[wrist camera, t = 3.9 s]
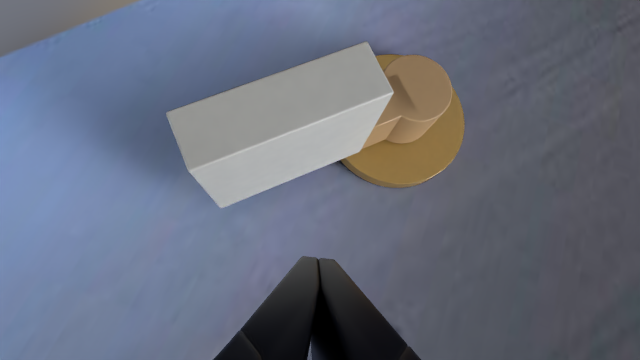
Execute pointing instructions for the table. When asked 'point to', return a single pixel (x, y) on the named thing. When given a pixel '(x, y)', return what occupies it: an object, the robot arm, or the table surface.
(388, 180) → the swivel base
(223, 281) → the table surface
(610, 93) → the table surface
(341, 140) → the block on round stand
